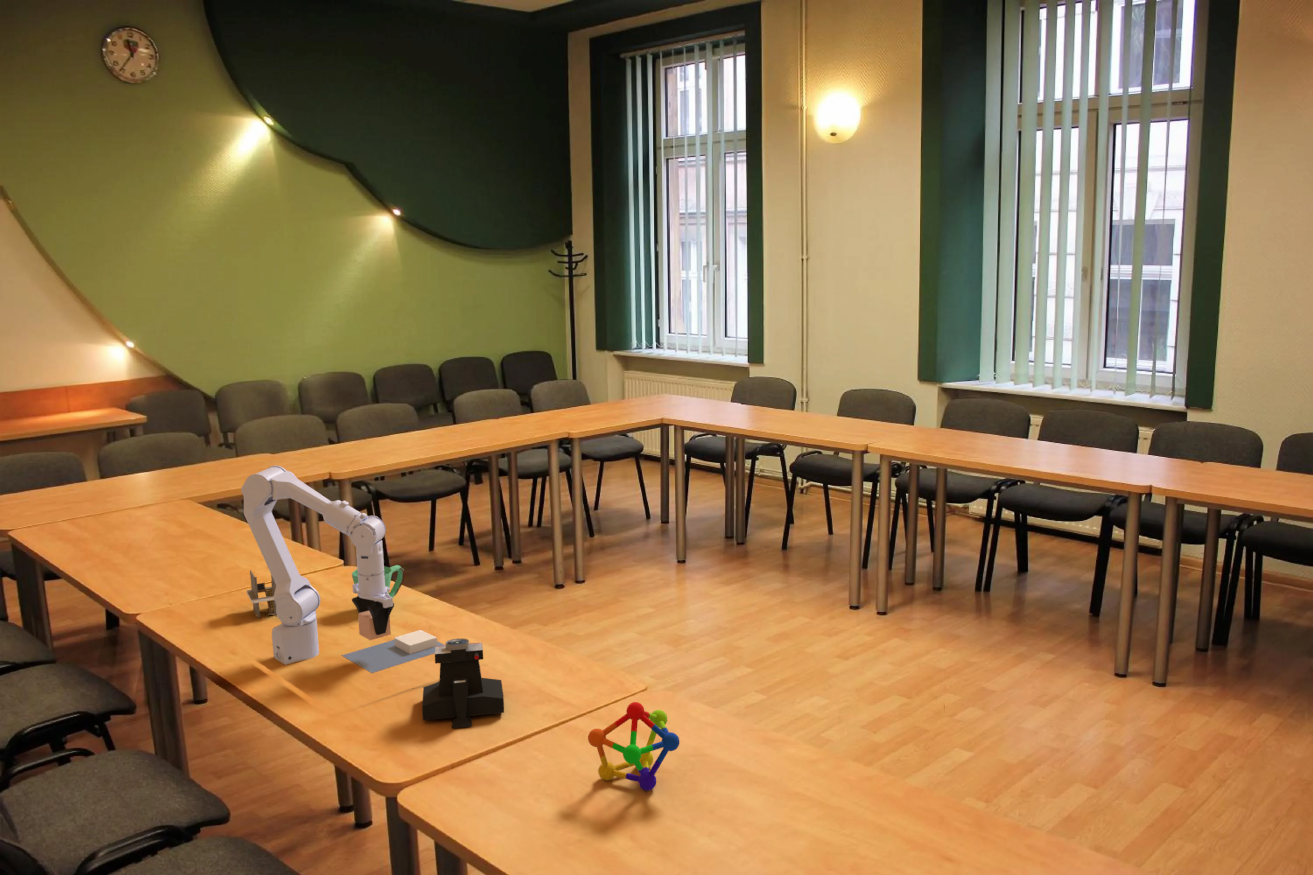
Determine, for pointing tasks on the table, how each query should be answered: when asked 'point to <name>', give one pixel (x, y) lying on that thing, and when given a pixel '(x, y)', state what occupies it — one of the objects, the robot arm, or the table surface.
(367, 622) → the terracotta block
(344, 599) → the table surface
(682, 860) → the table surface
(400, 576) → the mug
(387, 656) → the board
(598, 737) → the educational toy
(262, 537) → the robot arm
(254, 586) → the architectural model
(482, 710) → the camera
